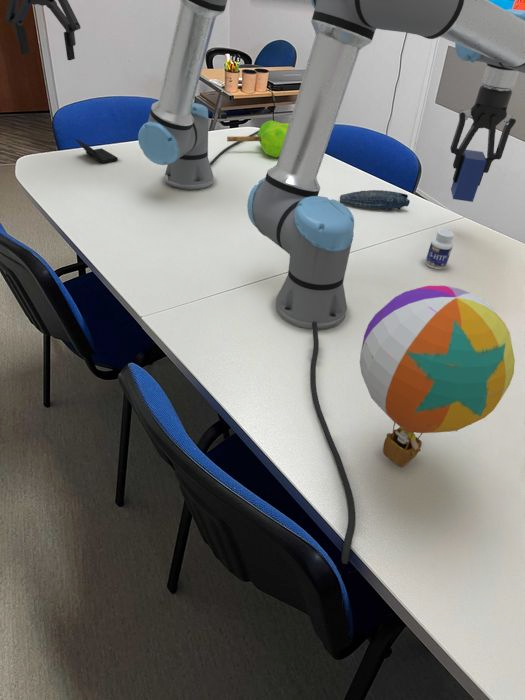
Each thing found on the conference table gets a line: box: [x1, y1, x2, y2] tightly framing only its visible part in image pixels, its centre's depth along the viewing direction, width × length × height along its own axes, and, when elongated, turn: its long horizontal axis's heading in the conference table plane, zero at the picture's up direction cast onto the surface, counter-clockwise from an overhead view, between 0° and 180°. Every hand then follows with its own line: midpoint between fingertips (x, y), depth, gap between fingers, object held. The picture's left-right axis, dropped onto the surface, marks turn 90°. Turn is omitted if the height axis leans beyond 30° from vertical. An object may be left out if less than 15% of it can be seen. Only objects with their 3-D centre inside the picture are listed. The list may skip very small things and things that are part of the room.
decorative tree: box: [226, 119, 290, 158], centre depth 188 cm, size 18×10×30 cm
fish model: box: [339, 189, 411, 211], centre depth 158 cm, size 7×21×5 cm, turn 84°
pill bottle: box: [424, 228, 455, 270], centre depth 130 cm, size 5×5×9 cm
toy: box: [359, 285, 516, 468], centre depth 73 cm, size 20×20×30 cm
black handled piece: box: [75, 138, 119, 164], centre depth 173 cm, size 12×7×10 cm
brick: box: [450, 149, 487, 203], centre depth 138 cm, size 5×7×11 cm
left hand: (48, 56), depth 143 cm, fingers open, 13 cm apart
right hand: (466, 182), depth 138 cm, fingers closed on brick, 5 cm apart
